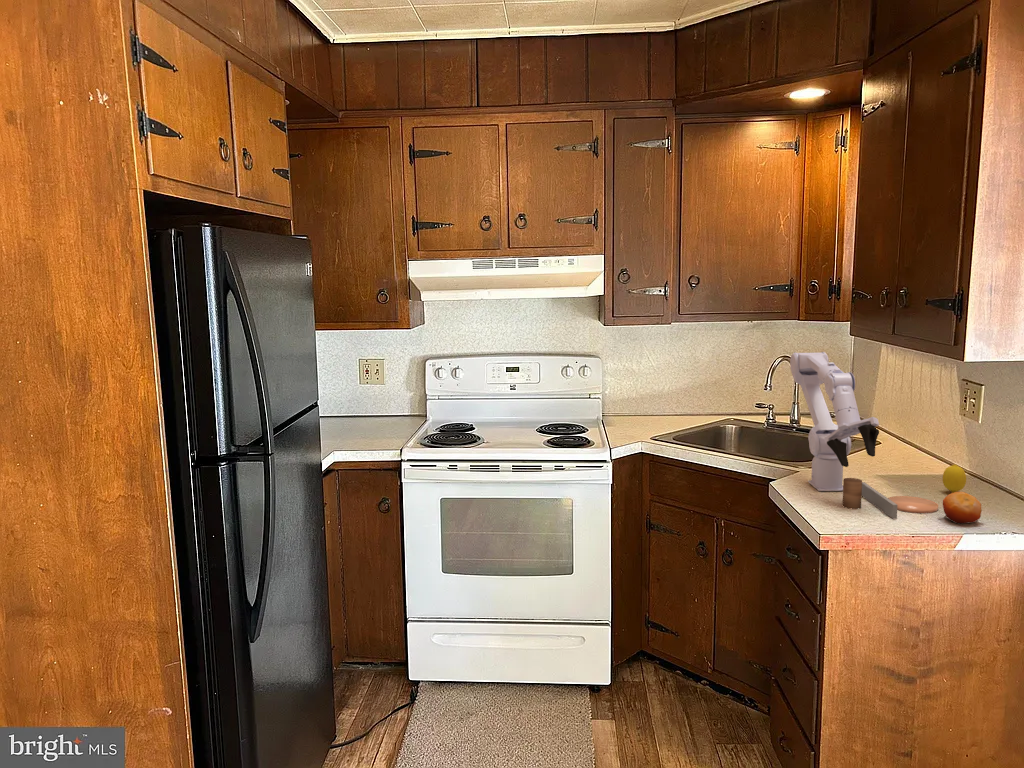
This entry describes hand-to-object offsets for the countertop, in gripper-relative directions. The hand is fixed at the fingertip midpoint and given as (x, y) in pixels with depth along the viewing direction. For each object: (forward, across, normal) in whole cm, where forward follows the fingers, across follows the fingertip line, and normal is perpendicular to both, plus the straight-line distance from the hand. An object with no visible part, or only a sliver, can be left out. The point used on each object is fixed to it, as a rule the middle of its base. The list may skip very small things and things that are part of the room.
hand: (858, 460), depth 186 cm
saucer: (+8, +1, +18) cm, 20 cm away
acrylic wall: (+8, -4, +11) cm, 15 cm away
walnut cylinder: (+8, -8, +6) cm, 13 cm away
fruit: (+16, +12, +18) cm, 26 cm away
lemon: (+1, +3, +36) cm, 36 cm away
